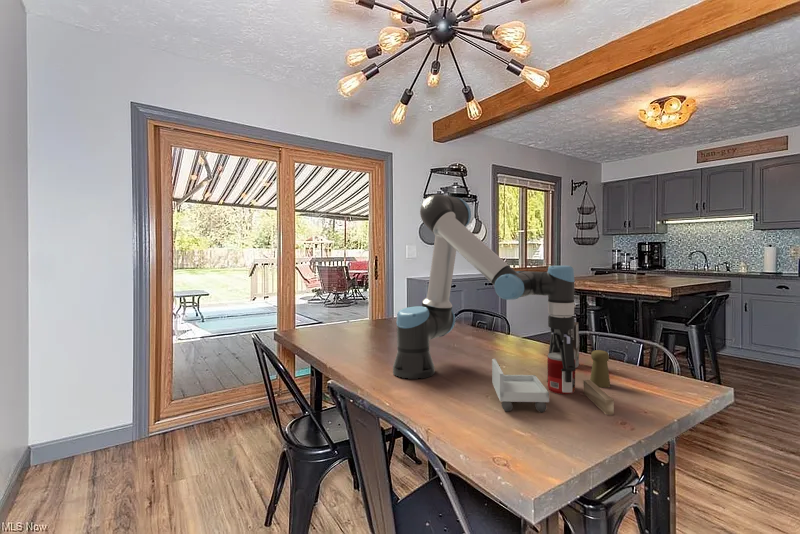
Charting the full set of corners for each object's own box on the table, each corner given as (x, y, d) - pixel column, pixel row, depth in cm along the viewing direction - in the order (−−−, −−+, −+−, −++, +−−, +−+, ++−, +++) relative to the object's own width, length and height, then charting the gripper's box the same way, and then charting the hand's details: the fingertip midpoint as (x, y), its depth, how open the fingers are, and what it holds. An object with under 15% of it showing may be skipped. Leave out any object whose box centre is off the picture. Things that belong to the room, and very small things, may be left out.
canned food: (577, 395, 119) (577, 359, 119) (549, 394, 121) (549, 358, 120) (572, 386, 127) (572, 352, 126) (545, 385, 128) (545, 351, 128)
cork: (609, 382, 130) (610, 349, 129) (611, 388, 124) (611, 354, 124) (589, 380, 132) (589, 347, 132) (589, 386, 127) (589, 352, 126)
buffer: (605, 414, 105) (605, 399, 105) (583, 392, 121) (583, 379, 121) (613, 414, 105) (613, 399, 105) (590, 392, 121) (590, 380, 121)
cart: (500, 411, 108) (499, 373, 108) (492, 391, 123) (492, 358, 123) (549, 412, 107) (549, 374, 106) (535, 392, 122) (535, 359, 121)
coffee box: (579, 364, 151) (579, 322, 150) (576, 368, 145) (576, 325, 145) (554, 360, 156) (554, 320, 155) (550, 365, 150) (550, 322, 150)
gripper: (588, 322, 111) (587, 399, 112) (561, 309, 134) (561, 373, 135) (560, 322, 111) (560, 399, 112) (538, 309, 134) (539, 373, 135)
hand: (561, 385), depth 124 cm, fingers open, 11 cm apart
